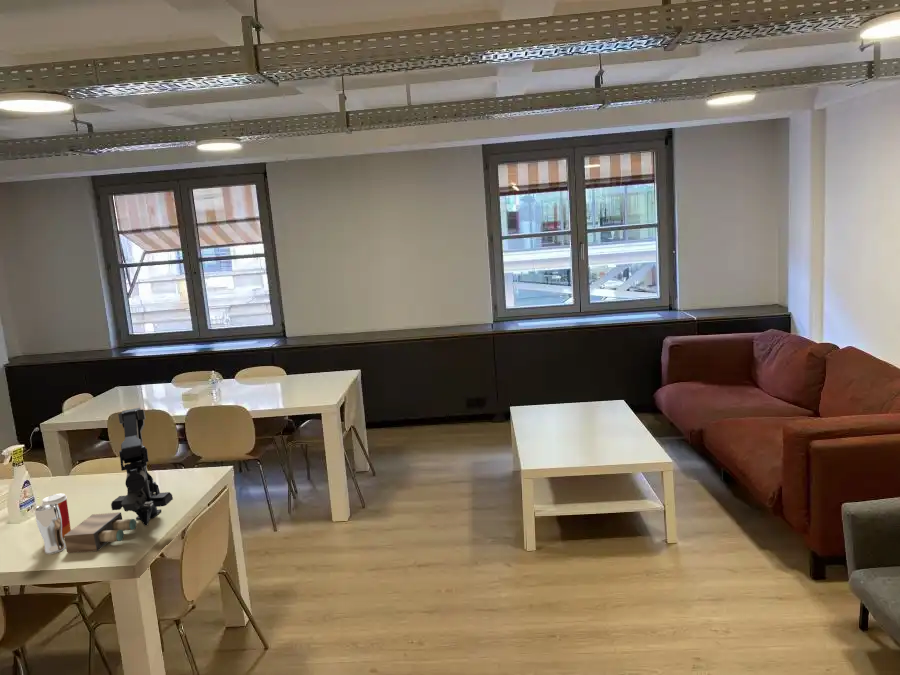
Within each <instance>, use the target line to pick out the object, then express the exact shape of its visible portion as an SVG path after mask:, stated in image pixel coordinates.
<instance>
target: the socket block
mask: <svg viewBox="0 0 900 675" xmlns="http://www.w3.org/2000/svg"><path fill="white" fill-rule="evenodd" d="M114 520H123V514H122V511H119V512H106V513H94V514H91V515H90V516H88V517H87V518H86V519H84V520H83V521H82V522H80V523H79V524H78V525H76V526H75V527H74V528H72V529H71V531H69V532H68V533H67V534H65V535H64V538H63V540H64V543H65V545H66V548H65V549H66V553H67V554H74V553H89V552H99V550H101V549H102V548H103V547H104V546H105V545H107V544H108V543H109V542H100V541H99V536H98V533H99V532H100V531H108V530H113V527H112V522H113V521H114Z"/></svg>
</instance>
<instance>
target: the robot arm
mask: <svg viewBox="0 0 900 675" xmlns="http://www.w3.org/2000/svg"><path fill="white" fill-rule="evenodd" d="M117 416H118V422H119V425H122V428H123V429H124V430H123V431H124V440H123V441H122V442H121V443H120V450H118V452H119V461H120V468H121V471H122V472H123V471H126V478H125V483H124V484H125V487H126V488H127V490H126V491H127V494H126V495H119V496H118V497H117V498H115V499H114V500H112V501H111V503H110V507H111V511H119V510H124V512H134V513H135V514H136V515H137V516H136V517H135V520H140V521H141V522H142V524H143V525H144V526H148V525H149V522H150V520H151V519H154V518H155V517H156V516H157V515H159V513H161V512H162V509H158V507H159V508H161V507H165V506H167V505H168V504H169V503H170V502H172V501H173V500H174V498H173V494H172V493H171V492H170V491H168V492H167V491H166V492H160V487H159V485H158V484H157V482H156V481H154V478H153V477H152V476H151V474H150V473H149V472H148V468H147V465H148V463H149V454H148V453H149V452H148V448H146V446H145V445H144V442H143V435H142V432H143V430H144V428H145V426H146V424H145V420H146V419H147V417H146V413H145V410H144V409H141V407H136V408H131V409H125V410H122V411H121V412H120V413H118V415H117Z"/></svg>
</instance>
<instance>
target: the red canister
mask: <svg viewBox="0 0 900 675" xmlns="http://www.w3.org/2000/svg"><path fill="white" fill-rule="evenodd" d="M67 499H68V496H67V495H66V494H65V493H63V492H62V493H61V492H60V493H54V494H51V495H49V496H46V497H44V498H42V501H41V506H42V505H45V504H49V503H57V504H58V507H59V510H60V513H61V518H62V537H63V539H64V535H65V534H67V533H68V532H69V531H71V530H72V529H71V522H70V521H71V520H70V515H69V509H68V508H69V507H68V500H67Z"/></svg>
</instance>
